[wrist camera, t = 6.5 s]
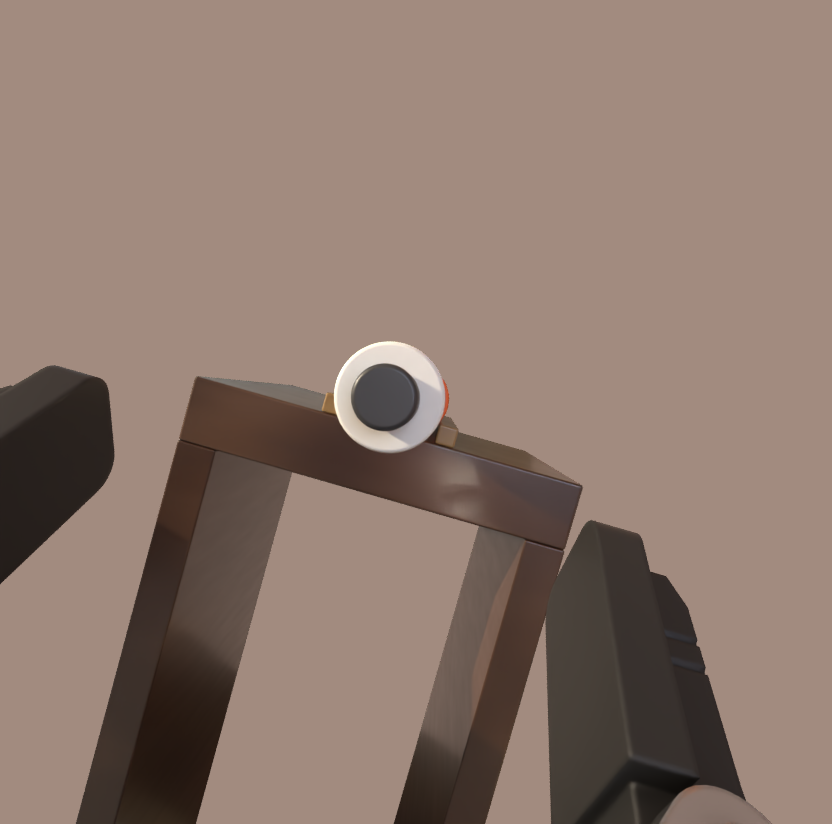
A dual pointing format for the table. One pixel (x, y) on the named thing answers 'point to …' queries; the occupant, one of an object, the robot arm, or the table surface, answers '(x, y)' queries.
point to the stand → (242, 577)
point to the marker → (390, 397)
